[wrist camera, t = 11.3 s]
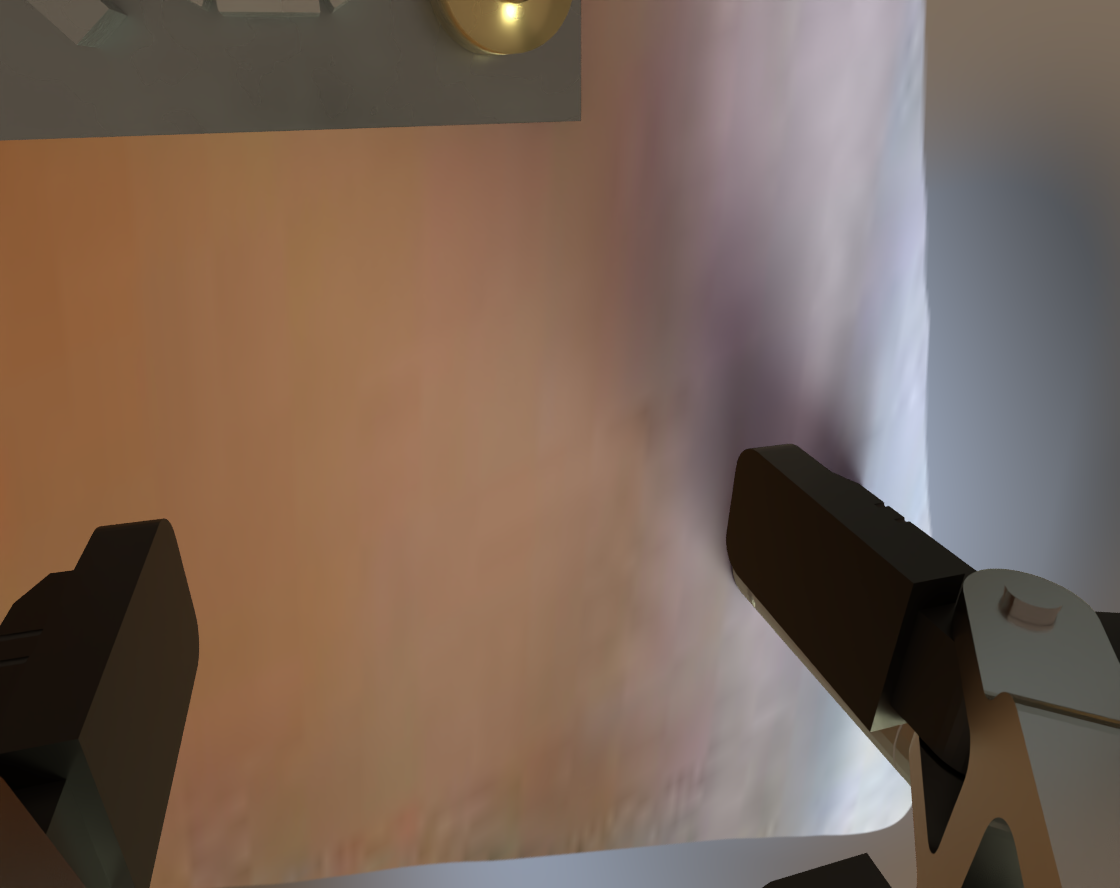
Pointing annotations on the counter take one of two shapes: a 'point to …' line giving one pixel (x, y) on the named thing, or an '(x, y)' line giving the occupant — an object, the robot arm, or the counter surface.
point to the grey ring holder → (283, 65)
